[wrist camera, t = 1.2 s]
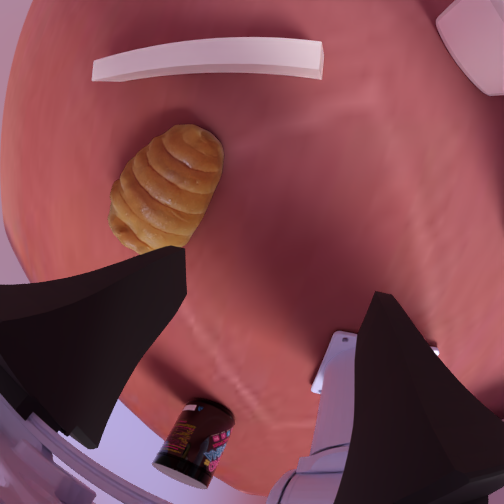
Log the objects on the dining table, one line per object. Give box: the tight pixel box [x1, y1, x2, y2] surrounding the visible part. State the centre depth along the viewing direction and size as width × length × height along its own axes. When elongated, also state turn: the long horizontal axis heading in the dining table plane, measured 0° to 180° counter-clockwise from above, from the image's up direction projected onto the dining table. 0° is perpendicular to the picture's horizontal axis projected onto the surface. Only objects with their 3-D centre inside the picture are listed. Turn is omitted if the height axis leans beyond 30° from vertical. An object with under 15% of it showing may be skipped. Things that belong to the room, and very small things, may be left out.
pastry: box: [108, 124, 224, 255], centre depth 17 cm, size 9×7×4 cm
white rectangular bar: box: [92, 37, 324, 82], centre depth 13 cm, size 14×2×3 cm, turn 85°
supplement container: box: [152, 398, 235, 489], centre depth 26 cm, size 7×7×10 cm
